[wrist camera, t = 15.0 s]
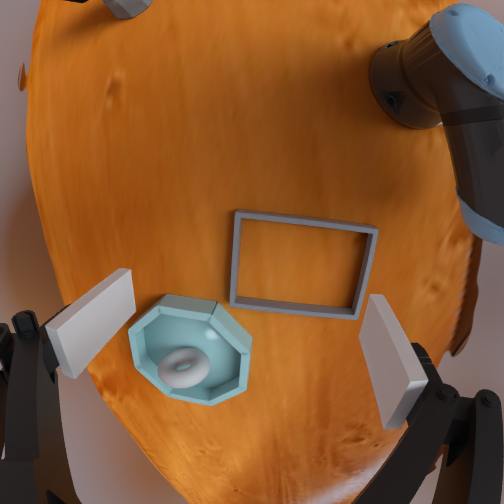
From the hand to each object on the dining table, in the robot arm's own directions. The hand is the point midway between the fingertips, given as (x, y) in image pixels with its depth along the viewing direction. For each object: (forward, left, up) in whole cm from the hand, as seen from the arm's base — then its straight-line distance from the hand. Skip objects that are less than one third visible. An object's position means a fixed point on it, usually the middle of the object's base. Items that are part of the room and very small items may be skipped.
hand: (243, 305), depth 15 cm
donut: (+12, +28, -29) cm, 43 cm away
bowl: (+12, +28, -30) cm, 43 cm away
